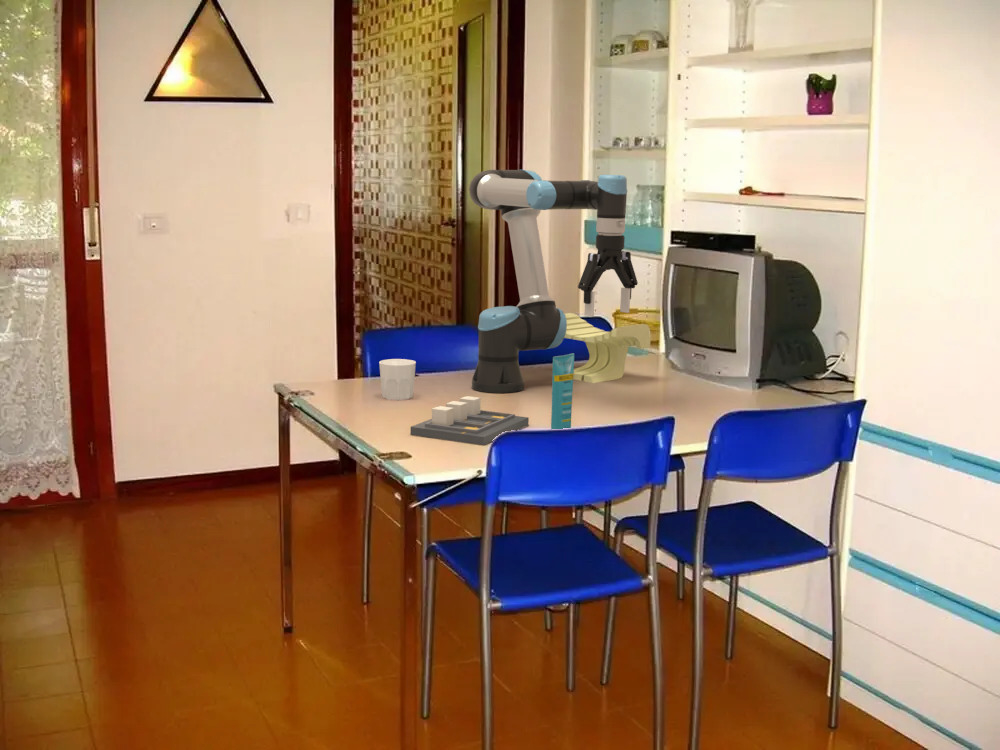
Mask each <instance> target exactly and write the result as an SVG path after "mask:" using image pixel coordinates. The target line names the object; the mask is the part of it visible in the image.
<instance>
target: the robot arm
mask: <svg viewBox="0 0 1000 750" xmlns="http://www.w3.org/2000/svg"><path fill="white" fill-rule="evenodd" d="M627 180H628V179H627V176H625V175H623V174H600V175H599V176H598V179H597V181H595V180H589V179H587V180H586V179H585V180H583V179H582V180H545V179H544V180H543V179H542V177H541V176H540V175H539V174H538V173H537V172H535V171H533V170H526V169H486V170H483V171H480V172H478V173H477V174H476V175H475V176H474V177H473V178H472V179H471V181H470V184H469V188H468V192H469V196H470V199H471V201H472V202H473V203H474V205H476V206H477V207H479V208H481V209H485V210H489V211H490V210H493V211H498V210H499V211H500V214H501V218H502V220H503V221H505V222H506V223H507V225H508V232H509V238H510V239H509V240H510V245H511V251H512V257H513V265H514V270H515V276H516V277H515V278H516V282H517V289H518V290H517V291H518V295H519V302H518V304H517V305H516V306H513V305H506V306H505V305H504V306H501V305H500V306H495V307H494V306H493V307H490V308H486V309H484V310H482V312H480V314H479V316H478V317H479V318H478V325H477V329H478V340H477V342H478V344H477V345H478V347H477V349H478V354H477V355H478V356H477V357H478V358H477V359H478V360H477V365H476V367H475V370H474V373H473V376H472V379H471V389H472V390H475V391H479V392H482V393H492V394H493V393H495V394H505V393H508V394H509V393H517V392H520V391H523V390H524V388H525V381H524V377H523V374H522V371H521V367H520V364H519V352H520V351H522V352H525V351H526V352H527V351H537V350H542V351H544V350H547V349H549V350H550V349H555V348H557V347H558V346H560V345H561V344H562V343H563V341H564V339H565V338H564V337H565V334H566V329H567V321H566V316H565V313H564V311H563V309H561V308H558V307H556V306H557V305H556V301H555V299H553V298H552V297H551V296H550V295H549V289H548V283H547V275H546V271H545V264H544V263H545V262H544V257H543V252H542V251H543V250H542V245H541V239H540V233H539V226H538V220H537V218H538V216H539V215H540V213H541V211H548V210H593V211H594V210H596V224H595V225H596V231H595V232H596V233H597V234H596V235H595V248H596V249H597V253H594V252H593V253H592V252H589V253H588V255H587V262H586V264H585V267H584V269H583V272H582V273H581V277H580V279H579V282H578V285H577V289H579V290H581V291H583V304H584V316H585V317H595V316H594V315H595V291H593V290H594V288H595V287H596V285H597V283H598V282H599V280H600V278H602V276H603V273H605V272H607V271H609V270H613V271H614V272H615V274H616V275H617V277H618V279H619V281H620V282H621V285H622V286H623V287H620V309H619V311H620V312H621V313H627V314H629V313H630V304H631V299H632V289H635V287H636V286H638V283H639V282H638V280H637V276H636V272H635V269H634V266H633V262H632V256H631V251H626V250H625V251H624V249H625V241H626V240H625V235H623V234H624V233H626V232H625V231H626V214H627V213H626V212H627V210H626V209H627V197H628V189H627V188H628V185H627V184H628V183H627Z"/></svg>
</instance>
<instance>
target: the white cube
mask: <svg viewBox="0 0 1000 750" xmlns="http://www.w3.org/2000/svg"><path fill="white" fill-rule="evenodd" d="M453 416H454V408H451V407H446V406H443V405H442V406H441V405H439V406H436V407H433V408H431V419H432V424H437V425H444V426H450V425H452V424H453Z"/></svg>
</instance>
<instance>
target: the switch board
mask: <svg viewBox="0 0 1000 750" xmlns="http://www.w3.org/2000/svg"><path fill="white" fill-rule="evenodd" d="M527 426H529V417H528V416H519V415H516V414H515V413H507V412H498V411H491V410H483V409H480V414H477V415H472V414H467V419H465V420H455V419H453V424H452V425H450V426H444V425H437V424H432V418H430V419H427V420H424V421H422V422H420V423H419V422H418V423H417V424H414V425H412V426H410V436H415V435H416V436H415V437H421V438H422V437H423V438H424V437H425V438H430V439H438V440H444V441H452V442H458V443H464V444H470V445H471V444H472V445H479V446H486V445H488V444H491V443H493V442H492V440H493V439H494V438H495V437H496V436H498V435H499V434H501V433H502V432H505V431H511V430H517V431H519V430H522V429H523V427H524V428H526V427H527ZM518 429H519V430H518Z"/></svg>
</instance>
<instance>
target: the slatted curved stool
mask: <svg viewBox="0 0 1000 750" xmlns="http://www.w3.org/2000/svg"><path fill="white" fill-rule="evenodd" d="M564 314H565V316H566V321H567V329H566V334H565V337H564V339H570V340H574V341H575V340H576V341H580V342H581V341H582V342H584V343H585V345H586V347H587V350H588V354H589V356H588V357H589V358H588V361H587V362H586V363H585V364H583V365H582V366H581V365H580V366H579V367H576V368H574V374H573V380H577V381H582V382H585V383H590V384H595V383H603V382H606V381H607V382H608V381H613V380H617V379H621V378H622V377H623V376H624V374H625V373H624V372H625V365H626V359H627V356H628V352H629V347H636V348H639V349H640V350H642V349H643V350H644V349H648V348H651V337H652V336H651V329H650V326H649V325H647V324H646V323H642V324H633V325H625V326H619V327H615V328H614V329H611V330H610V331H605V330H604V329H602V328H601V329H600V328H598V327H594V325H592V324H590V323H589V322H588V321H587V320H585V319H582V318H581V317H580V315H578V314H576V313H573V312H566V313H564Z"/></svg>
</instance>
